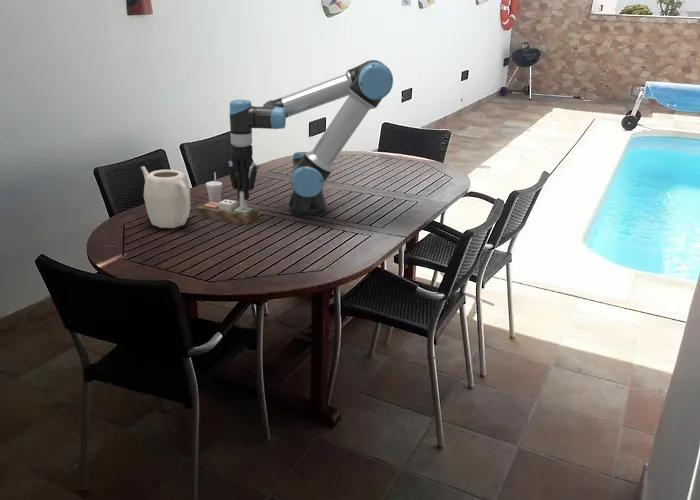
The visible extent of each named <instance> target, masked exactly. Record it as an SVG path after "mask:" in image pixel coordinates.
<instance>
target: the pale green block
mask: <svg viewBox="0 0 700 500" xmlns="http://www.w3.org/2000/svg"><path fill="white" fill-rule="evenodd" d="M248 207H249V206H247V208H245V209H240V207H239V208H237V209H235V210H234V212H236V213H243V214H248V213H249V212H251V211H253V208H254V207H249V208H248Z"/></svg>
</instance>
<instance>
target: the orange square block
mask: <svg viewBox="0 0 700 500" xmlns="http://www.w3.org/2000/svg"><path fill="white" fill-rule="evenodd" d="M208 202H209V201H208ZM208 202H206V203H207V204H206V203H205V205H204V204H203V205H204V207H205V208H211V209H217V208H219V205H218V203H216V202H209V203H208Z"/></svg>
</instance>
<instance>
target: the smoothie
mask: <svg viewBox="0 0 700 500" xmlns="http://www.w3.org/2000/svg"><path fill="white" fill-rule="evenodd" d="M213 174H214V175H213V176H214V177H213V178H214V180H213V181H208V182H206V183H205V187H206V190H207V191H206V192H207V195H208V202H210V201H211V202H217V203H219V202H221V201H222V200H221V199H222V189H223V182H221V181H217V173H216V172H213Z"/></svg>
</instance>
